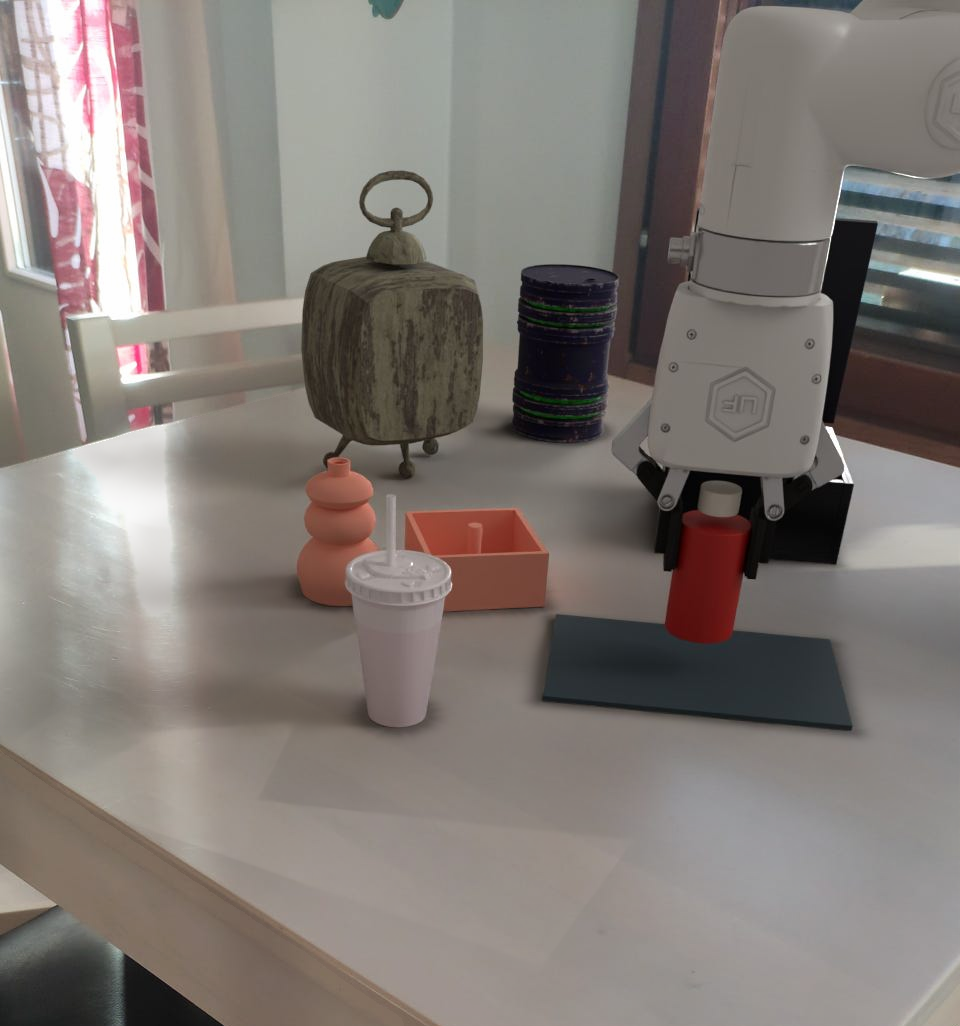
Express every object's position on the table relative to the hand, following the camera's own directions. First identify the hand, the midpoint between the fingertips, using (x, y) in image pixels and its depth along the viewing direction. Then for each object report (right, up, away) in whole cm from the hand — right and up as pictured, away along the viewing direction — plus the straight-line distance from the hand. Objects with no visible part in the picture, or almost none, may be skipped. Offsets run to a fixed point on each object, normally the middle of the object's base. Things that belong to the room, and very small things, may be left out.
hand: (709, 565), depth 82 cm
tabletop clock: (-23, +17, +36) cm, 46 cm away
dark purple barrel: (-7, +26, +49) cm, 56 cm away
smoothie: (-20, -10, -2) cm, 23 cm away
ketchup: (0, -4, +3) cm, 5 cm away
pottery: (-20, +1, +14) cm, 24 cm away
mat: (0, -6, +4) cm, 8 cm away
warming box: (+8, +10, +29) cm, 31 cm away
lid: (+10, +27, +25) cm, 38 cm away
